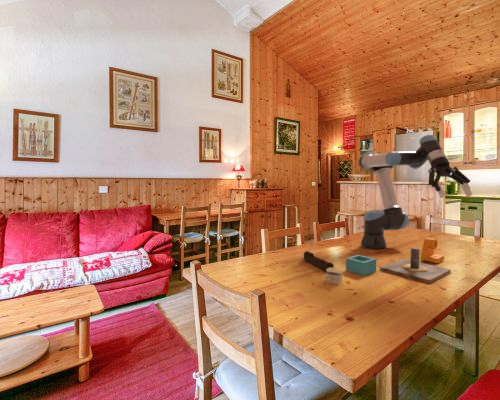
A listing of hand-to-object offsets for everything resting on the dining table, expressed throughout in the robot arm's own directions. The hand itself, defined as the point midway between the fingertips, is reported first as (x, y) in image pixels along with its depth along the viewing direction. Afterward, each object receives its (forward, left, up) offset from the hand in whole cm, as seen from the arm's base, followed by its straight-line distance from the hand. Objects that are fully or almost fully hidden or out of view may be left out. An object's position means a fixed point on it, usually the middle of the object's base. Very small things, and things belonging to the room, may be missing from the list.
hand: (456, 196), depth 132 cm
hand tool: (-45, -47, -36) cm, 74 cm away
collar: (-26, -36, -36) cm, 57 cm away
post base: (-10, -17, -36) cm, 41 cm away
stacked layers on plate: (-25, -58, -36) cm, 73 cm away
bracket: (-12, +8, -36) cm, 39 cm away
